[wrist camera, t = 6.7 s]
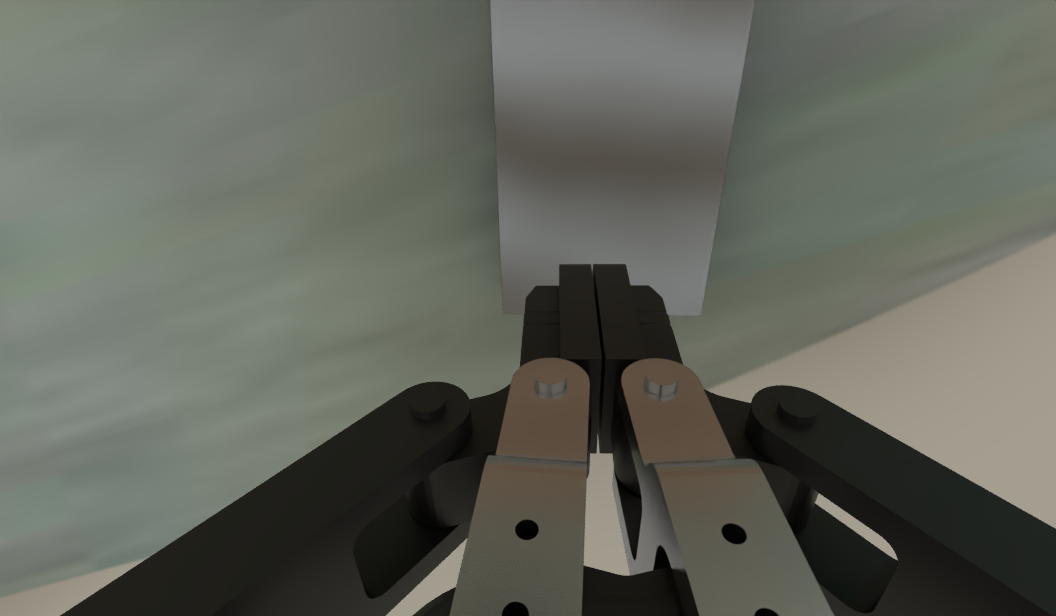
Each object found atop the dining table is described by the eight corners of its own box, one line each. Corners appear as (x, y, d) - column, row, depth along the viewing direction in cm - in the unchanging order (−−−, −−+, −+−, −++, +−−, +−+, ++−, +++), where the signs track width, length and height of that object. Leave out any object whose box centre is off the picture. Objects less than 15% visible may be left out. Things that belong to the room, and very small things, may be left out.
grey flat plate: (491, -105, 17) (485, -112, 16) (757, -110, 17) (775, -117, 15) (505, 294, 24) (502, 313, 23) (692, 296, 24) (700, 315, 23)
